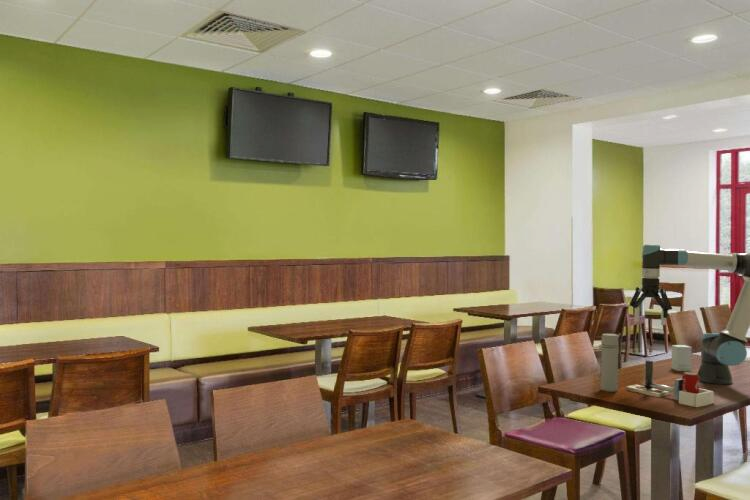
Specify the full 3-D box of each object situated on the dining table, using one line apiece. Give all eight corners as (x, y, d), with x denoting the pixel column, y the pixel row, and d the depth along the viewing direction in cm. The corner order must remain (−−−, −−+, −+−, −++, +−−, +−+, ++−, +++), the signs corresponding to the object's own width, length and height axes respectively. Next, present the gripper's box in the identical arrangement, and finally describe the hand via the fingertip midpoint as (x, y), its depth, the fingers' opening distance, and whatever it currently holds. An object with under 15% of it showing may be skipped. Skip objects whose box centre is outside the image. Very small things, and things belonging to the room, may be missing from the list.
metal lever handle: (638, 390, 287) (639, 360, 287) (648, 388, 291) (648, 359, 291) (678, 399, 272) (678, 367, 272) (687, 397, 276) (688, 366, 275)
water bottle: (618, 389, 292) (619, 334, 292) (617, 393, 285) (618, 336, 285) (597, 387, 296) (598, 332, 296) (595, 390, 289) (596, 334, 289)
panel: (636, 387, 296) (636, 383, 296) (669, 394, 283) (669, 390, 283) (625, 389, 292) (625, 385, 292) (658, 397, 278) (658, 392, 278)
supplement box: (691, 371, 336) (692, 347, 336) (677, 371, 336) (677, 346, 336) (685, 368, 343) (685, 344, 343) (670, 368, 343) (671, 344, 343)
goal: (695, 399, 276) (695, 387, 276) (713, 403, 269) (713, 391, 269) (678, 403, 269) (678, 391, 269) (697, 407, 262) (697, 394, 262)
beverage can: (701, 403, 268) (701, 374, 268) (685, 403, 268) (685, 374, 268) (695, 400, 274) (695, 371, 274) (679, 399, 275) (680, 371, 275)
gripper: (622, 276, 311) (621, 320, 311) (671, 279, 290) (670, 326, 290) (631, 276, 315) (631, 319, 315) (680, 278, 294) (679, 325, 295)
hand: (649, 323), depth 303 cm, fingers open, 13 cm apart
